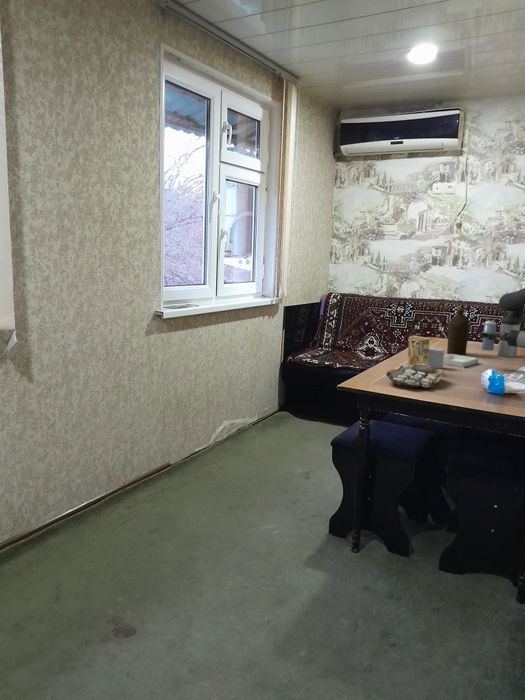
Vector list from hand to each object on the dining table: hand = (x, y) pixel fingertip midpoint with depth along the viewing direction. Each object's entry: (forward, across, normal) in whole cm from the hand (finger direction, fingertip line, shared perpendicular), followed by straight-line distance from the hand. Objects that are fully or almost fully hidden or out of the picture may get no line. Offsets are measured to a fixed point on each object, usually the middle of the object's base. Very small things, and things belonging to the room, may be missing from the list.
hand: (483, 334), depth 249 cm
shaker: (-3, 0, +7) cm, 7 cm away
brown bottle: (+22, -22, +16) cm, 35 cm away
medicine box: (+14, +19, +16) cm, 29 cm away
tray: (+11, +1, +16) cm, 19 cm away
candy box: (+16, +31, +16) cm, 39 cm away
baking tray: (+5, +53, +16) cm, 55 cm away
